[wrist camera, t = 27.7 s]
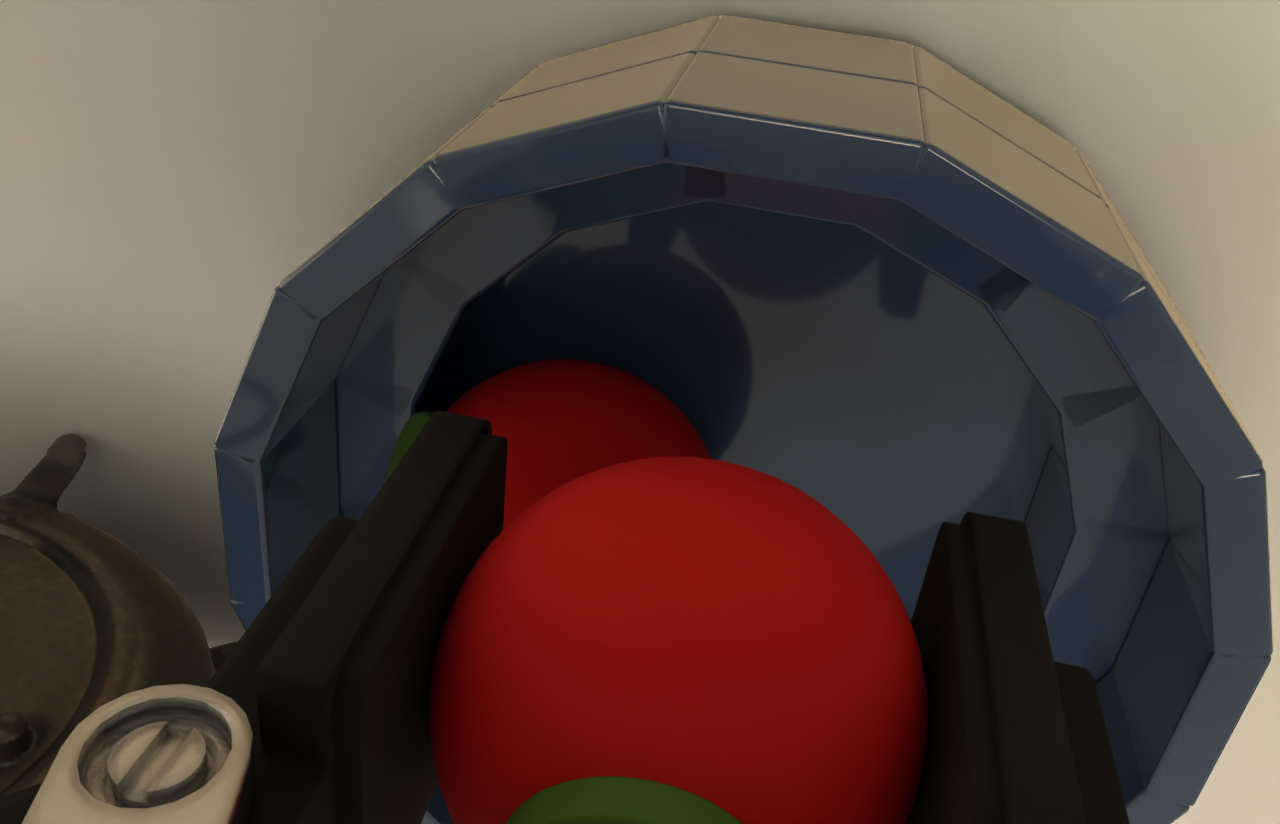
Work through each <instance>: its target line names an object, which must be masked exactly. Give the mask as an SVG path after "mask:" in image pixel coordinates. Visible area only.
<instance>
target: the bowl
mask: <svg viewBox="0 0 1280 824" xmlns="http://www.w3.org/2000/svg"><path fill="white" fill-rule="evenodd" d="M554 359H578V360H585V361H592V362H597V363H601V364H604V365H607V366H611V367H614V368H618V369H621V370H624V371H626V372H628V373H630V374H632V375H634V376H636V377H639V378H640V379H642V380H643V381H645V382H647V383H648V384H650V385H651V386H653V387H654V388H656V389H657V390H659V391H660V392H662V393H663V394H664V395H665V396H666V397H667V398H668V399H670V400H671V401H672V402H673V403H674V404H675V405H676V406H677V407H678V408H679V409H680V410H681V411H682V412H683V413H684V415H685V416H686V417H687V418H688V420H689V421H690V422H691V423H692V425H693V426H694V428H695V429H696V431H697V432H698V433H699V435H700V437H701V439H702V441H703V443H704V445H705V446H706V448H707V450H708V452H709V454H710V457H711V459H713V460H721V461H725V462H729V463H733V464H737V465H741V466H745V467H749V468H752V469H755V470H757V471H760V472H763V473H765V474H768V475H771V476H774V477H776V478H778V479H780V480H782V481H784V482H786V483H788V484H790V485H792V486H794V487H796V488H798V489H800V490H801V491H803V492H804V493H806V494H807V495H809V496H810V497H812V498H813V499H815V500H816V501H818V502H819V503H821V504H822V505H823V506H825V507H826V508H827V509H828V510H829V511H831V512H832V513H833V514H834V515H835V516H836V517H838V518H839V519H840V520H841V521H842V522H843V523H845V524H846V525H847V526H848V527H849V528H850V529H851V530H852V531H853V532H854V533H855V534H856V535H857V536H858V537H859V538H860V540H861V541H862V542H863V543H864V544H865V545H866V546H867V547H868V548H869V549H870V551H871V552H872V554H873V555H874V556H875V558H876V559H877V561H878V562H879V564H880V565H881V567H882V568H883V569H884V571H885V572H886V574H887V576H888V577H889V579H890V580H891V582H892V583H893V585H894V586H895V588H896V590H897V592H898V594H899V596H900V598H901V601H902V603H903V605H904V607H905V609H906V611H907V613H908V616H909V619H910V622H911V620H912V616H913V613H914V610H915V607H916V603H917V600H918V597H919V593H920V590H921V587H922V584H923V580H924V577H925V574H926V571H927V567H928V564H929V561H930V557H931V554H932V551H933V548H934V544H935V541H936V538H937V534H938V532H939V529H940V527H941V525H942V523H943V522H944V521H945V522H950V523H955V524H960V523H961V520H962V518H963V517H964V515H965V513H967V512H974V513H979V514H984V515H989V516H995V517H1000V518H1005V519H1010V520H1016V521H1021V522H1023V523H1025V525H1026V528H1027V531H1028V536H1029V541H1030V546H1031V551H1032V556H1033V561H1034V566H1035V571H1036V576H1037V581H1038V586H1039V591H1040V595H1041V600H1042V605H1043V610H1044V615H1045V620H1046V625H1047V630H1048V635H1049V640H1050V645H1051V650H1052V655H1053V660H1054V661H1055V662H1060V663H1065V664H1070V665H1075V666H1080V667H1084V668H1086V669H1087V670H1088V671H1089V672H1090V673H1092V676H1093V679H1094V681H1095V684H1096V687H1097V691H1098V695H1099V699H1100V704H1101V708H1102V712H1103V716H1104V720H1105V724H1106V728H1107V732H1108V737H1109V741H1110V745H1111V749H1112V753H1113V757H1114V761H1115V765H1116V769H1117V774H1118V778H1119V782H1120V786H1121V790H1122V794H1123V798H1124V802H1125V807H1126V811H1127V815H1128V819H1129V823H1130V824H1171V823H1172V822H1174V821H1175V820H1176V819H1178V818H1179V817H1180V816H1182V815H1183V814H1184V813H1186V812H1187V811H1188V809H1189V806H1193V805H1194V803H1195V802H1196V800H1197V798H1198V796H1199V794H1200V792H1201V790H1202V788H1203V787H1204V785H1205V783H1206V781H1207V779H1208V777H1209V775H1210V773H1211V772H1212V770H1213V768H1214V766H1215V764H1216V762H1217V760H1218V758H1219V757H1220V755H1221V753H1222V751H1223V749H1224V747H1225V745H1226V743H1227V742H1228V740H1229V738H1230V736H1231V734H1232V732H1233V730H1234V729H1235V727H1236V725H1237V723H1238V721H1239V719H1240V717H1241V715H1242V714H1243V712H1244V710H1245V708H1246V706H1247V704H1248V702H1249V700H1250V699H1251V697H1252V695H1253V693H1254V691H1255V689H1256V687H1257V685H1258V684H1259V682H1260V680H1261V678H1262V676H1263V674H1264V672H1265V670H1266V669H1267V667H1268V665H1269V663H1270V660H1271V654H1272V652H1273V634H1272V609H1271V583H1270V558H1269V532H1268V507H1267V481H1266V471H1265V469H1264V467H1263V461H1262V459H1261V457H1260V455H1259V453H1258V452H1257V450H1256V448H1255V446H1254V445H1253V443H1252V441H1251V439H1250V437H1249V436H1248V434H1247V432H1246V430H1245V429H1244V427H1243V425H1242V423H1241V421H1240V420H1239V418H1238V416H1237V414H1236V413H1235V411H1234V409H1233V407H1232V405H1231V404H1230V402H1229V400H1228V398H1227V397H1226V395H1225V393H1224V391H1223V389H1222V388H1221V386H1220V384H1219V382H1218V381H1217V379H1216V377H1215V375H1214V373H1213V372H1212V370H1211V368H1210V366H1209V365H1208V363H1207V362H1206V359H1205V358H1204V356H1203V354H1202V352H1201V350H1200V349H1199V347H1198V345H1197V343H1196V342H1195V340H1194V338H1193V336H1192V334H1191V333H1190V331H1189V329H1188V327H1187V326H1186V324H1185V322H1184V320H1183V318H1182V317H1181V315H1180V313H1179V311H1178V310H1177V308H1176V306H1175V304H1174V302H1173V301H1172V299H1171V297H1170V295H1169V293H1168V292H1167V290H1166V288H1165V287H1164V285H1163V284H1162V282H1161V280H1160V279H1159V277H1158V276H1157V274H1156V272H1155V271H1154V269H1153V268H1152V266H1151V264H1150V263H1149V261H1148V260H1147V258H1146V256H1145V255H1144V253H1143V252H1142V250H1141V248H1140V247H1139V245H1138V244H1137V242H1136V240H1135V239H1134V237H1133V236H1132V234H1131V232H1130V231H1129V229H1128V228H1127V226H1126V224H1125V223H1124V221H1123V220H1122V218H1121V217H1120V215H1119V213H1118V212H1117V210H1116V209H1115V207H1114V205H1113V204H1112V202H1111V201H1110V199H1109V197H1108V196H1107V194H1106V193H1105V191H1104V189H1103V188H1102V186H1101V185H1100V183H1099V181H1098V180H1097V178H1096V177H1095V175H1094V173H1093V172H1092V170H1091V169H1090V167H1089V165H1088V164H1087V162H1086V161H1085V159H1084V157H1083V156H1082V154H1081V153H1080V152H1079V151H1078V150H1076V149H1075V148H1074V146H1073V144H1072V143H1071V142H1069V141H1067V140H1066V139H1064V138H1063V137H1061V136H1060V135H1058V134H1056V133H1055V132H1053V131H1052V130H1050V129H1048V128H1047V127H1045V126H1044V125H1042V124H1041V123H1039V122H1037V121H1036V120H1034V119H1033V118H1031V117H1029V116H1028V115H1026V114H1025V113H1023V112H1022V111H1020V110H1018V109H1017V108H1015V107H1014V106H1012V105H1011V104H1009V103H1007V102H1006V101H1004V100H1003V99H1001V98H999V97H998V96H996V95H995V94H993V93H992V92H990V91H988V90H987V89H985V88H984V87H982V86H981V85H979V84H977V83H976V82H974V81H973V80H971V79H969V78H968V77H966V76H965V75H963V74H962V73H960V72H958V71H957V70H955V69H954V68H952V67H951V66H949V65H947V64H946V63H944V62H943V61H941V60H939V59H938V58H936V57H935V56H933V55H932V54H930V53H928V52H927V51H925V50H924V49H922V48H921V47H919V46H914V47H913V46H912V44H911V43H909V42H902V41H896V40H889V39H882V38H876V37H869V36H862V35H856V34H849V33H842V32H836V31H829V30H822V29H816V28H809V27H802V26H796V25H789V24H782V23H776V22H769V21H762V20H756V19H749V18H742V17H736V16H729V15H722V16H721V17H720V16H718V15H714V16H711V17H707V18H703V19H699V20H696V21H692V22H688V23H684V24H681V25H677V26H673V27H670V28H666V29H662V30H658V31H655V32H651V33H647V34H644V35H640V36H636V37H632V38H629V39H625V40H621V41H618V42H614V43H610V44H606V45H603V46H599V47H595V48H592V49H588V50H584V51H580V52H577V53H573V54H569V55H566V56H562V57H558V58H554V59H551V60H547V61H545V62H544V63H543V64H541V65H540V66H536V67H535V68H534V69H533V70H532V71H530V72H529V73H528V74H527V75H526V76H524V77H523V78H522V79H521V80H520V81H518V82H517V83H516V84H515V85H514V86H512V87H511V88H510V89H509V90H508V91H506V92H505V93H504V94H503V95H502V96H500V97H499V98H498V99H497V100H496V101H494V102H493V103H492V104H491V105H490V106H489V107H487V108H486V109H485V110H484V111H483V112H481V113H480V114H479V115H478V116H477V117H475V118H474V119H473V120H472V121H471V122H469V123H468V124H467V125H466V126H465V127H463V128H462V129H461V130H460V131H459V132H457V133H456V134H455V135H454V136H453V137H451V138H450V139H449V140H448V141H447V142H445V143H444V144H443V145H442V146H441V147H439V148H438V149H437V150H436V151H435V152H433V153H432V154H431V155H430V156H429V157H427V158H426V159H425V160H424V161H423V162H421V163H420V164H419V165H418V166H417V167H416V168H414V169H413V170H412V171H411V172H410V173H408V174H407V175H406V176H405V177H404V178H403V179H401V180H400V181H399V182H398V183H397V184H395V185H394V186H393V187H392V188H391V189H390V190H388V191H387V192H386V193H385V194H384V195H382V196H381V197H380V198H379V199H378V200H377V201H375V202H374V203H373V204H372V205H371V206H369V207H368V208H367V209H366V210H365V211H364V212H362V213H361V214H360V215H359V216H358V217H356V218H355V219H354V220H353V221H352V222H351V223H349V224H348V225H347V226H346V227H345V228H343V229H342V230H341V231H340V232H339V233H338V234H336V235H335V236H334V237H333V238H332V239H330V240H329V241H328V242H327V243H326V244H325V245H323V246H322V247H321V248H320V249H319V250H317V251H316V252H315V253H314V254H313V255H312V256H310V257H309V258H308V259H307V260H306V261H304V262H303V263H302V264H301V265H300V266H299V267H297V268H296V269H295V270H294V271H293V272H291V273H290V274H289V275H288V276H287V277H286V278H284V279H283V280H282V281H281V283H280V285H279V286H278V287H277V288H275V290H274V292H273V295H272V297H271V300H270V302H269V305H268V307H267V310H266V312H265V315H264V317H263V320H262V322H261V325H260V327H259V330H258V332H257V335H256V338H255V340H254V343H253V345H252V348H251V350H250V353H249V355H248V358H247V360H246V363H245V365H244V368H243V370H242V373H241V375H240V378H239V381H238V383H237V386H236V388H235V391H234V393H233V396H232V398H231V401H230V403H229V406H228V408H227V411H226V413H225V416H224V418H223V421H222V423H221V426H220V429H219V431H218V434H217V436H216V439H215V445H216V447H215V459H216V469H217V478H218V488H219V498H220V507H221V517H222V527H223V536H224V546H225V556H226V565H227V575H228V585H229V594H230V598H231V600H232V602H231V603H232V606H233V608H234V610H235V612H236V614H237V616H238V617H239V619H240V621H241V623H242V625H243V626H244V628H245V630H246V631H247V629H248V628H249V627H250V625H251V624H252V622H253V621H254V620H255V618H256V617H257V616H258V614H259V613H260V612H261V610H262V609H263V607H264V606H265V605H266V603H267V602H268V601H269V599H270V598H271V597H272V595H273V594H274V592H275V591H276V590H277V588H278V587H279V586H280V584H281V583H282V582H283V580H284V579H285V577H286V576H287V575H288V573H289V572H290V571H291V569H292V568H293V567H294V565H295V564H296V562H297V561H298V560H299V558H300V557H301V556H302V554H303V553H304V552H305V550H306V549H307V547H308V546H309V545H310V543H311V542H312V541H313V539H314V538H315V537H316V535H317V534H318V532H319V531H320V530H321V528H322V527H323V526H324V525H325V524H326V523H327V522H328V521H329V520H330V519H332V518H334V517H337V516H339V517H344V518H349V519H354V520H360V518H361V517H362V516H363V514H364V513H365V511H366V510H367V508H368V507H369V505H370V504H371V503H372V501H373V500H374V498H375V497H376V495H377V494H378V492H379V491H380V490H381V488H382V487H383V485H384V483H385V478H386V474H387V470H388V466H389V462H390V459H391V456H392V453H393V450H394V447H395V444H396V442H397V440H398V437H399V435H400V433H401V431H402V429H403V428H404V426H405V424H406V423H407V422H408V420H409V419H410V418H411V417H412V416H413V415H414V414H416V413H417V412H421V411H427V412H433V413H434V412H435V411H444V412H446V411H447V409H448V408H449V407H450V406H451V405H452V404H454V403H455V402H456V401H457V400H458V399H459V398H460V397H461V396H463V395H464V394H465V393H466V392H467V391H469V390H470V389H472V388H474V387H475V386H477V385H478V384H480V383H481V382H483V381H484V380H486V379H487V378H489V377H492V376H494V375H496V374H498V373H500V372H502V371H505V370H507V369H510V368H513V367H517V366H520V365H524V364H527V363H530V362H537V361H544V360H554ZM421 824H454V823H453V821H452V818H451V816H450V813H449V811H448V808H447V805H446V803H445V800H444V797H443V794H442V792H441V789H440V786H439V783H438V785H437V788H436V790H435V792H434V794H433V797H432V799H431V801H430V804H429V806H428V808H427V811H426V813H425V815H424V818H423V820H422V822H421Z"/></svg>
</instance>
